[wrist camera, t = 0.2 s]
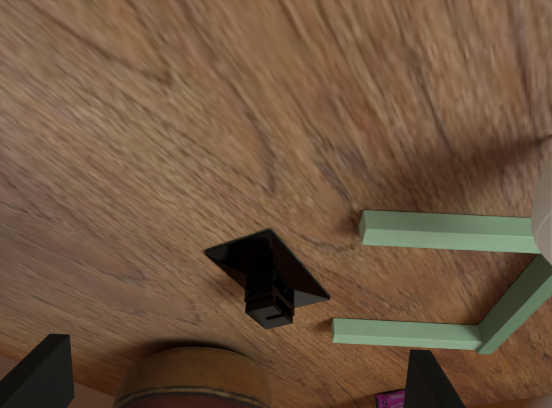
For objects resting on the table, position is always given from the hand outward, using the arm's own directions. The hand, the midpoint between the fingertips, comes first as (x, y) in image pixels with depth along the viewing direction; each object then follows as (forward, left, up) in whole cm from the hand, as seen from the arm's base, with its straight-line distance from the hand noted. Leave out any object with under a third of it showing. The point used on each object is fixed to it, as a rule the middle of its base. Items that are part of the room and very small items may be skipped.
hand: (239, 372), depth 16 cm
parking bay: (+18, +17, -16) cm, 29 cm away
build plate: (+18, +1, -16) cm, 24 cm away
